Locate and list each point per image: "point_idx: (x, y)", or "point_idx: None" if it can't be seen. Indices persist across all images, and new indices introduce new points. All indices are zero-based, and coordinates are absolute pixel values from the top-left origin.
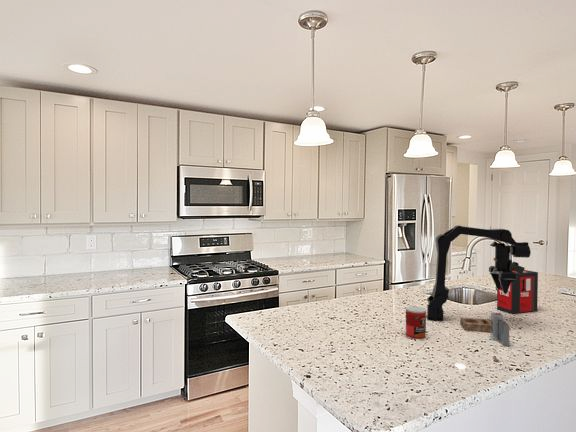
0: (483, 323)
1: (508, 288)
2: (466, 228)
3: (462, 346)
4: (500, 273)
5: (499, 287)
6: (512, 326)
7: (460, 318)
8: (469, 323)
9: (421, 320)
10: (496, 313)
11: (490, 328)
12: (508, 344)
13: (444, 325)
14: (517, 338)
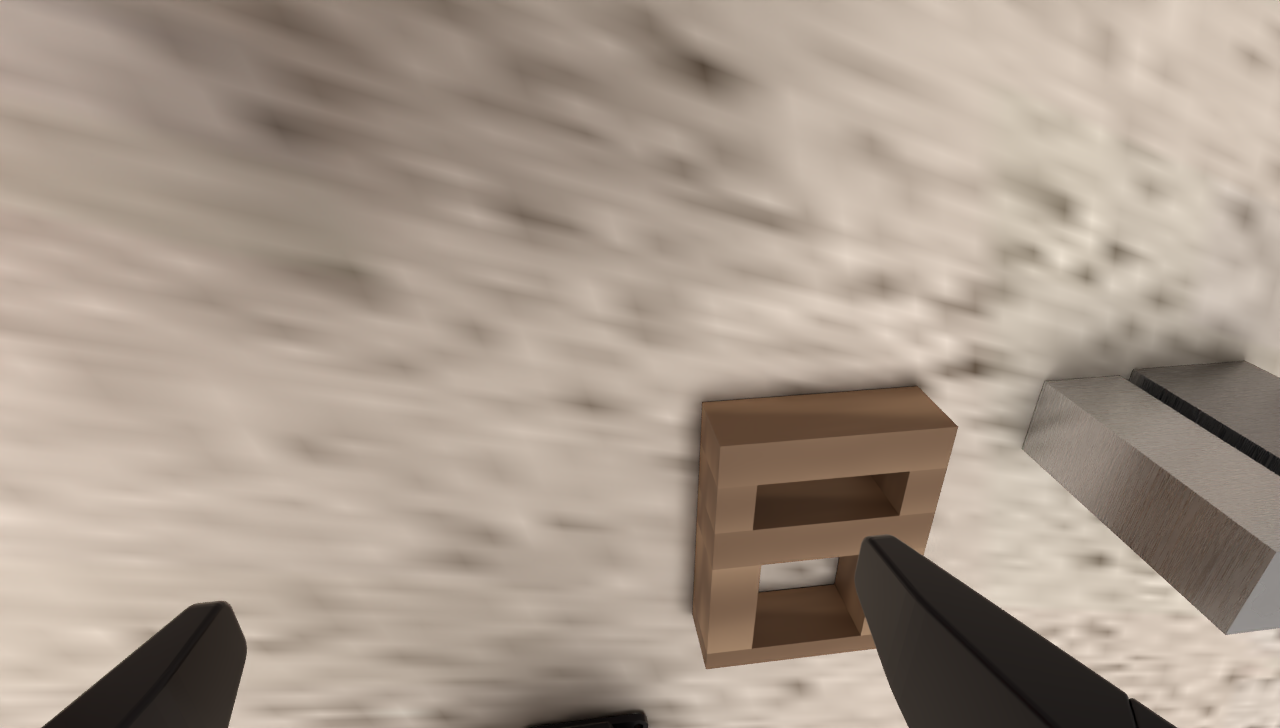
0: (885, 520)
1: (1056, 649)
2: None
3: (1180, 620)
4: None
5: (210, 655)
6: (645, 147)
7: (718, 661)
8: None
9: None
10: (1278, 589)
11: (1077, 499)
12: (1261, 373)
13: (757, 698)
14: (1071, 229)
